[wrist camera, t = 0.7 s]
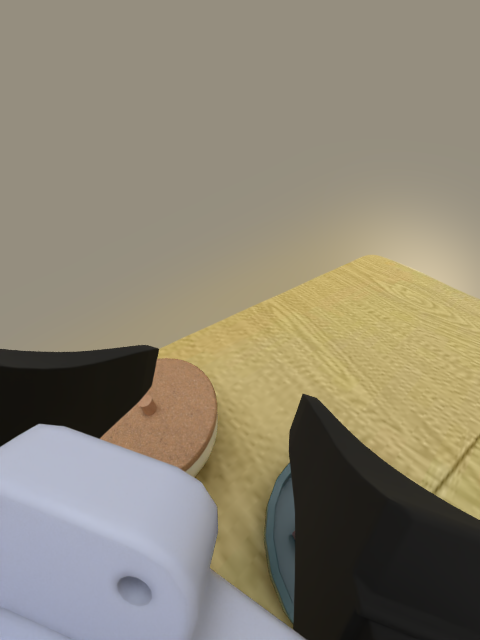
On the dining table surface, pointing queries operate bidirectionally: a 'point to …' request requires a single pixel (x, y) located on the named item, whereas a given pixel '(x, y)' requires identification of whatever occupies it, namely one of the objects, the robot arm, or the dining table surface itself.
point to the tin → (281, 540)
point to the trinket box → (172, 418)
